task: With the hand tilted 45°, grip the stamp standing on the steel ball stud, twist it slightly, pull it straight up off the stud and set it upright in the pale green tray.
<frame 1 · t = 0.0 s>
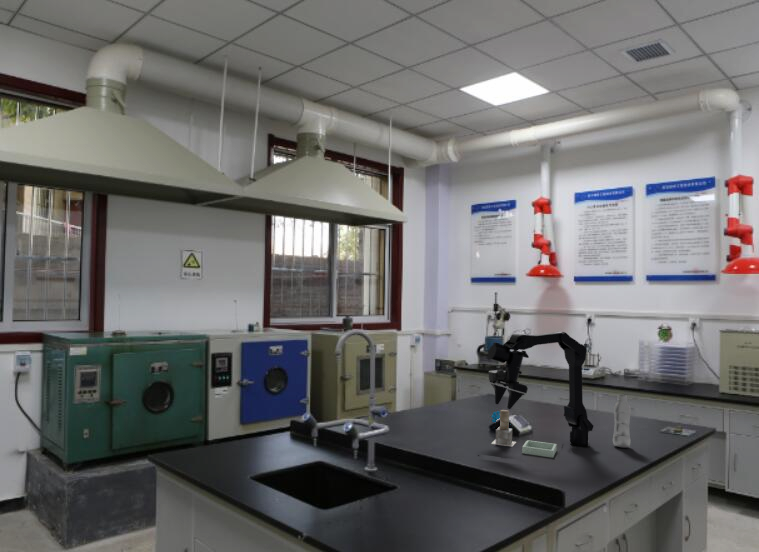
hand: (502, 406, 212), 15 cm above the counter, tool pointing down, fingers open, 9 cm apart
blue lobed toy: (502, 430, 241), on the counter
tray: (539, 455, 202), on the counter
stamp: (503, 442, 213), point 1 cm above the counter, touching stud plate
stud plate: (503, 446, 213), on the counter
plastic bottle: (621, 447, 220), on the counter
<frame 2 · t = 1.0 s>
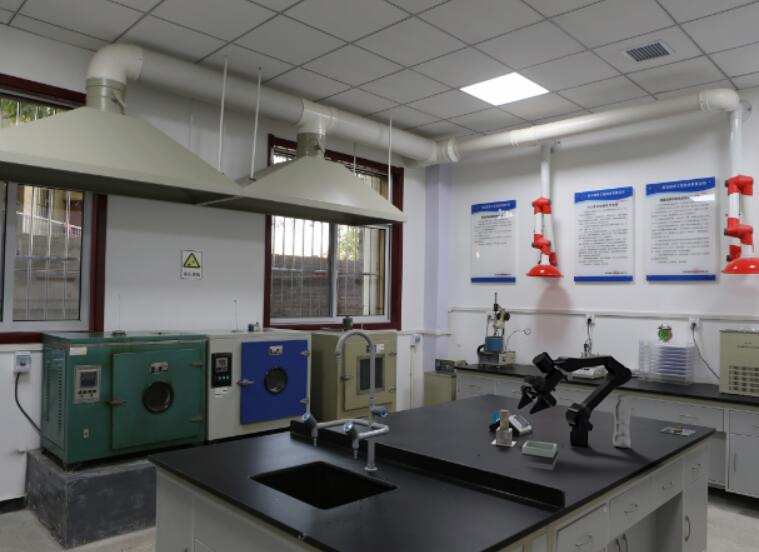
hand: (523, 411, 216), 13 cm above the counter, tool tilted 45°, fingers open, 9 cm apart
nothing on the counter moved.
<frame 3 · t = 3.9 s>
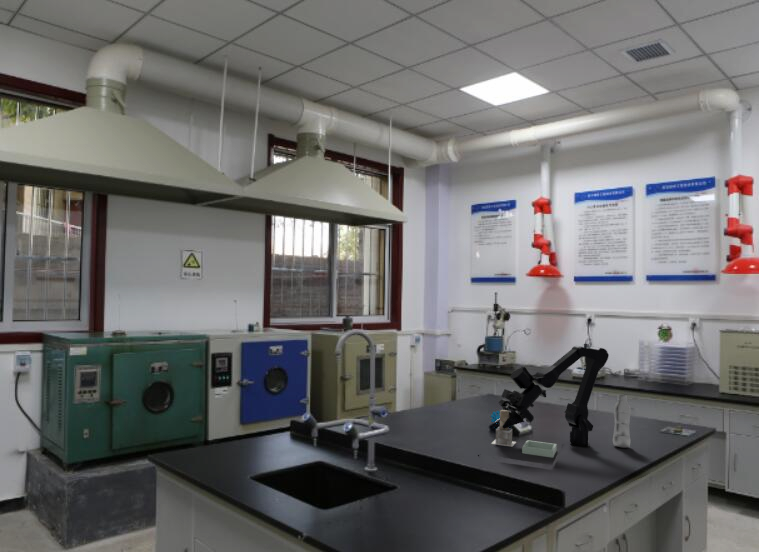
hand: (500, 426, 213), 8 cm above the counter, tool tilted 45°, fingers closed on stamp, 3 cm apart
stamp: (503, 442, 213), point 2 cm above the counter, touching gripper, stud plate
everything else where it was.
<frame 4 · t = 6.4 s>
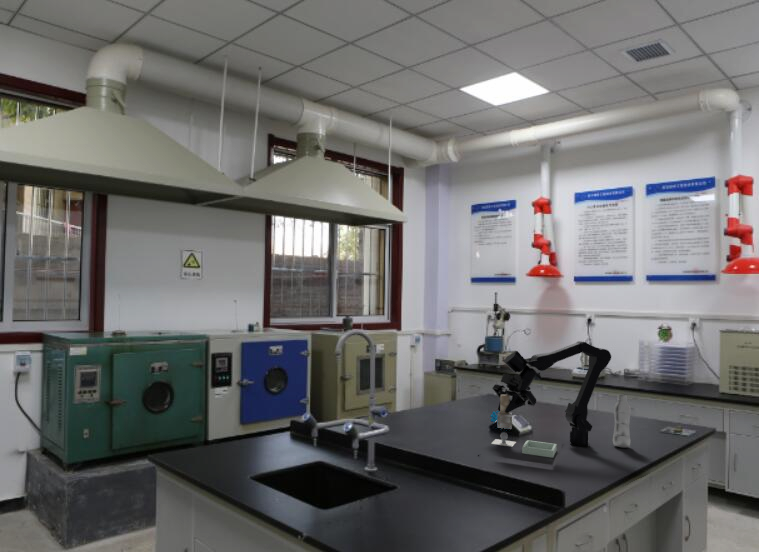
hand: (502, 411, 213), 13 cm above the counter, tool tilted 45°, fingers closed on stamp, 3 cm apart
stamp: (504, 427, 213), point 7 cm above the counter, touching gripper
everything else where it was.
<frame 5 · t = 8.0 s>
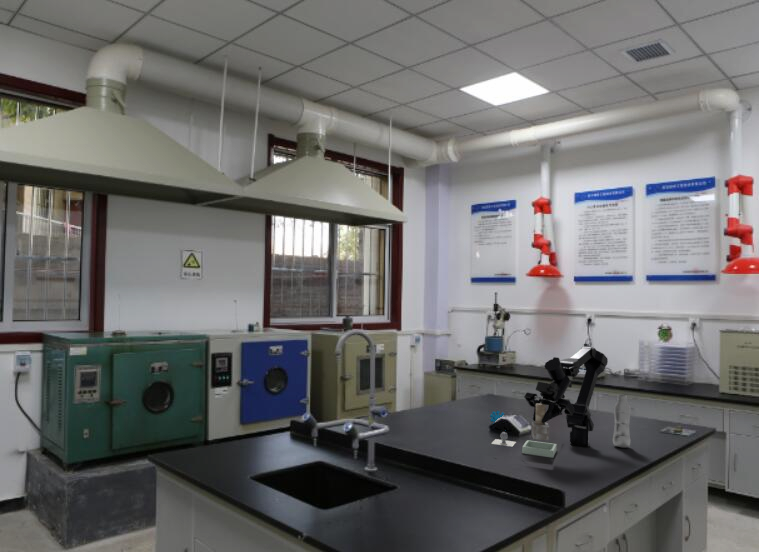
hand: (538, 421, 202), 12 cm above the counter, tool tilted 45°, fingers closed on stamp, 3 cm apart
stamp: (540, 437, 202), point 6 cm above the counter, touching gripper
everything else where it was.
when the fingers open (8 cm above the counter, at t = 9.1 s): stamp drops 1 cm, resting on tray.
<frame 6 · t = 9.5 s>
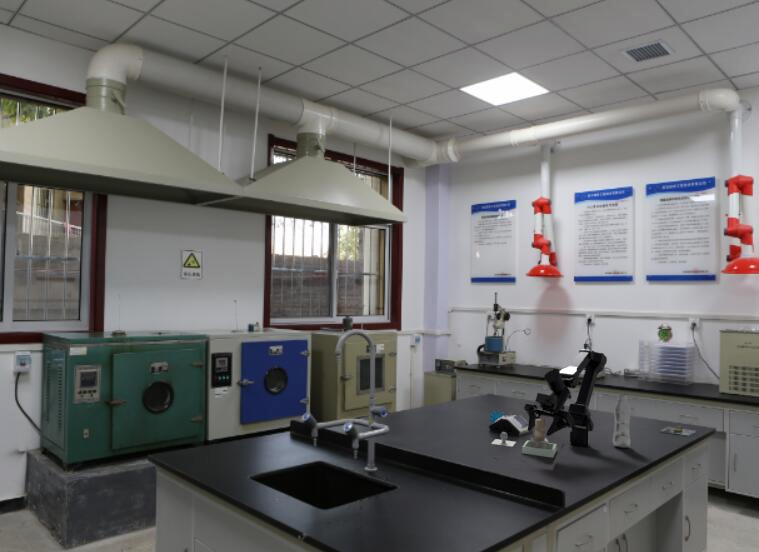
hand: (537, 432, 202), 8 cm above the counter, tool tilted 45°, fingers open, 8 cm apart
stamp: (539, 453, 202), point 1 cm above the counter, touching tray
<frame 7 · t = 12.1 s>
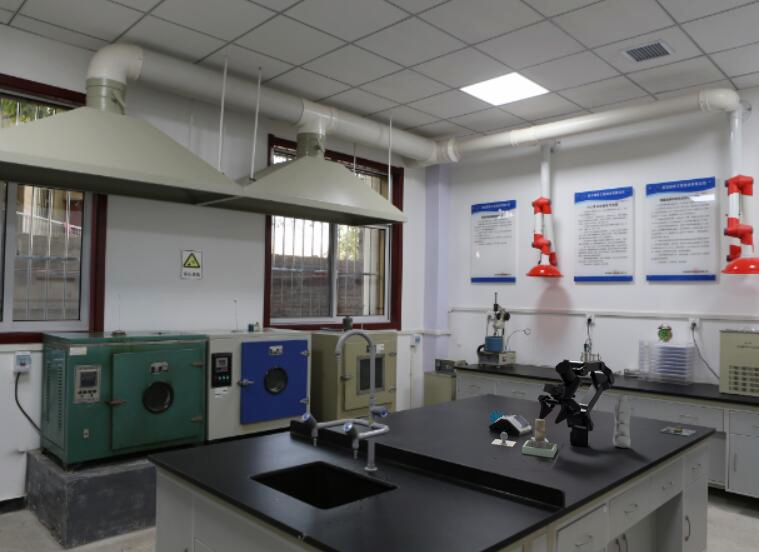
hand: (547, 421, 210), 11 cm above the counter, tool tilted 40°, fingers open, 9 cm apart
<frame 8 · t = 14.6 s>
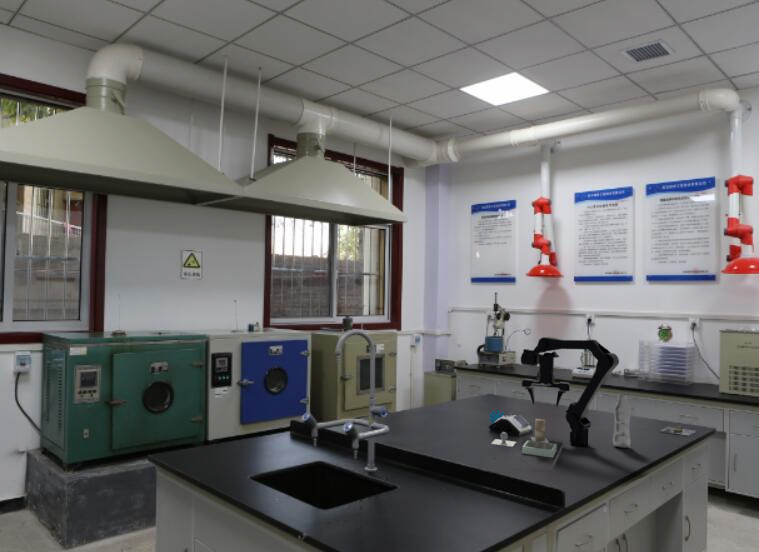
hand: (545, 405, 231), 13 cm above the counter, tool pointing down, fingers open, 9 cm apart
at the end: stamp inside the target area on the tray (0.0 cm from its centre), point 0.8 cm above the tray's base; stamp tilted 0°; the gripper is holding nothing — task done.
